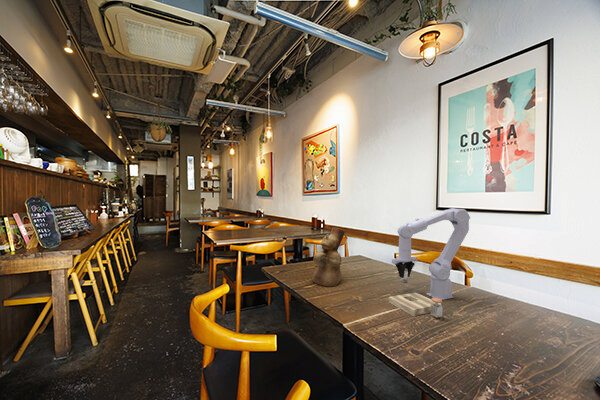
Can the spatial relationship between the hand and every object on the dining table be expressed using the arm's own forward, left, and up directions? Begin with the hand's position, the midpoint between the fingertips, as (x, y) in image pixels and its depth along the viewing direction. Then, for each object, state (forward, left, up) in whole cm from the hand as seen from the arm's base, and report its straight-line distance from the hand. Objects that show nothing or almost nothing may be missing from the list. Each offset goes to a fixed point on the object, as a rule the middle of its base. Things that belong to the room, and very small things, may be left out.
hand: (404, 276), depth 124 cm
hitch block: (+6, +12, -9) cm, 16 cm away
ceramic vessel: (+25, -30, -9) cm, 40 cm away
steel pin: (0, 0, -2) cm, 2 cm away
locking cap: (+6, +23, -6) cm, 24 cm away
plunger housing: (+6, +23, -9) cm, 25 cm away
